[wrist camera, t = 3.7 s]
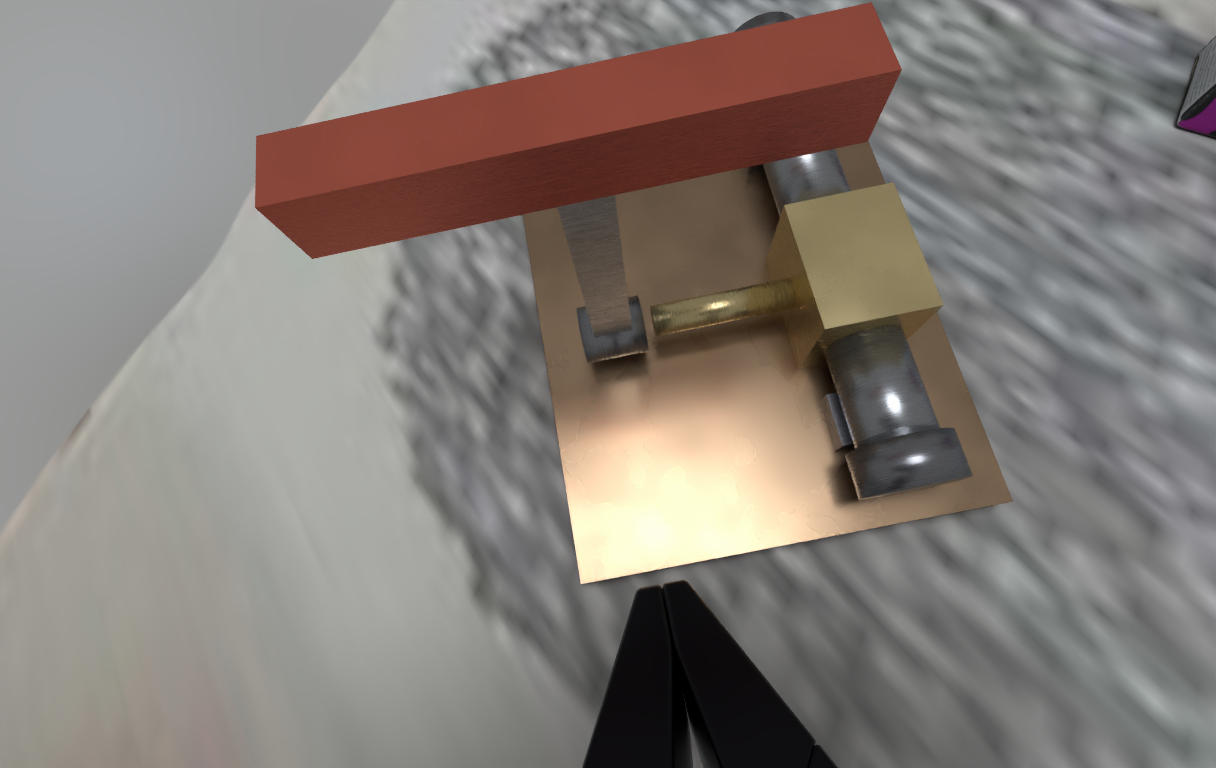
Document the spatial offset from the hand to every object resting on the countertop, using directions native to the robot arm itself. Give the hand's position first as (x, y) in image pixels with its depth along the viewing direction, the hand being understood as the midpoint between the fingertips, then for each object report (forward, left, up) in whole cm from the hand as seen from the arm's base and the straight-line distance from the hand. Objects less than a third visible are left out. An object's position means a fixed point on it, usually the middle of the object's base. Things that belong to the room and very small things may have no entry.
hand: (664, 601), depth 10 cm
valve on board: (+12, +5, -13) cm, 18 cm away
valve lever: (+7, +7, -12) cm, 15 cm away
